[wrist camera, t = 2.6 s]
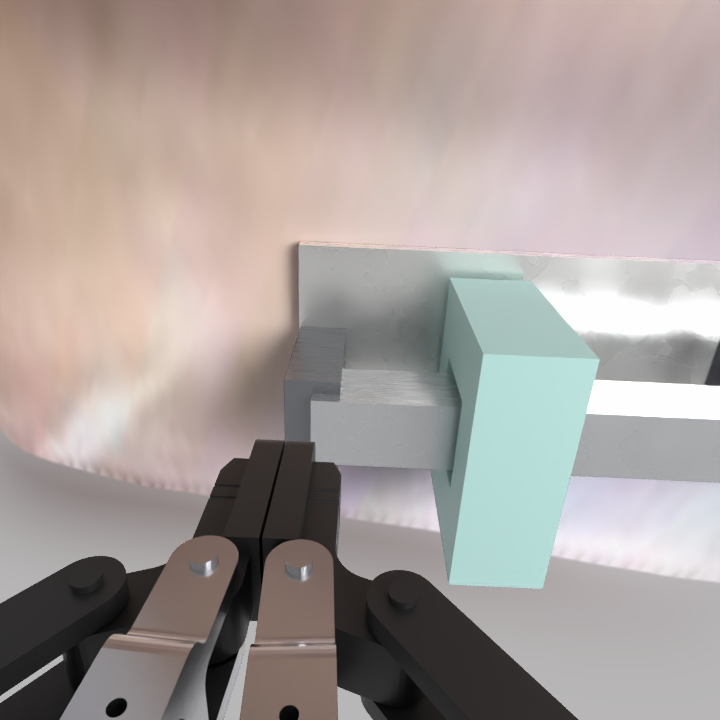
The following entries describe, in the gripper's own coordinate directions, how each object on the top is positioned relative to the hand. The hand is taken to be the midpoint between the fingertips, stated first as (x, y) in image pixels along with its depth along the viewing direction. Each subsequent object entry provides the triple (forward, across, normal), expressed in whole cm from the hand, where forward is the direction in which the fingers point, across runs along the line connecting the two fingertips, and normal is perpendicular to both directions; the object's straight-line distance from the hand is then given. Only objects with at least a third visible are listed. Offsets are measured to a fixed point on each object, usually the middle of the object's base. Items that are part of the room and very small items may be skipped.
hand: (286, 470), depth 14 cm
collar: (+15, -8, +4) cm, 17 cm away
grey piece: (+16, -13, +4) cm, 21 cm away
